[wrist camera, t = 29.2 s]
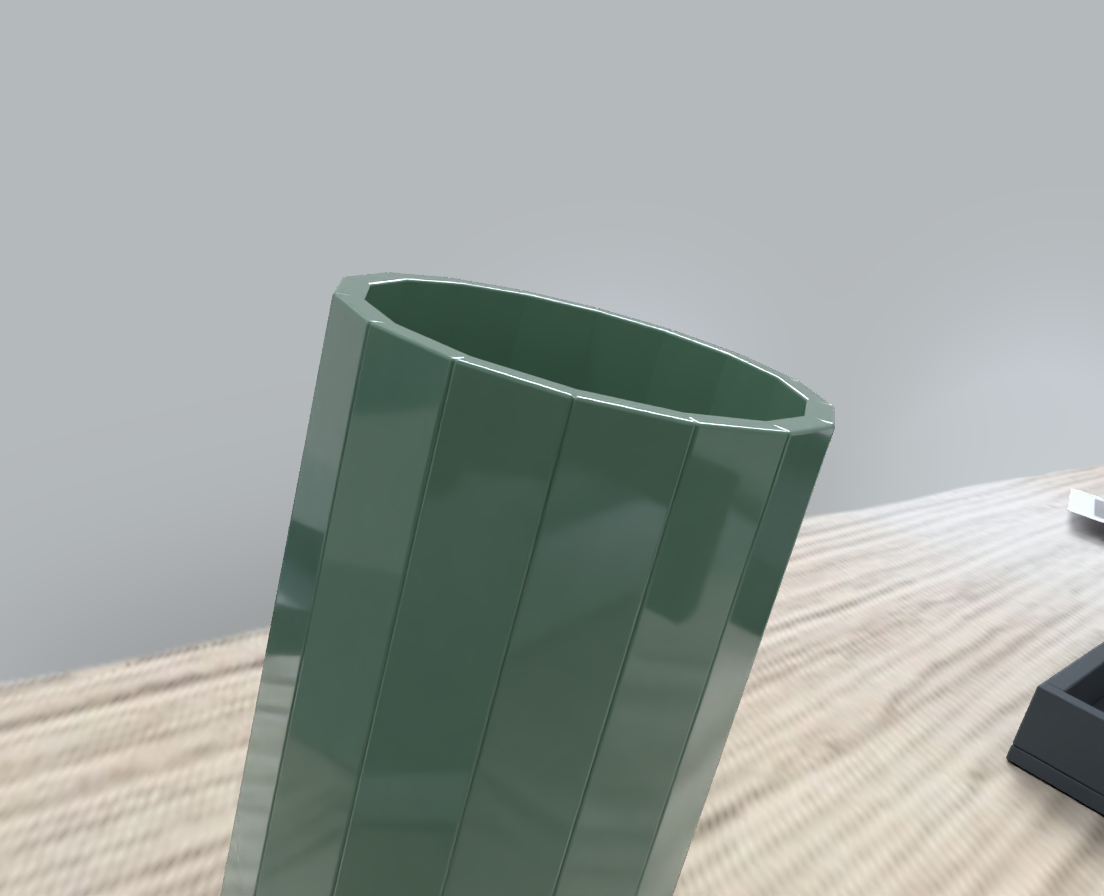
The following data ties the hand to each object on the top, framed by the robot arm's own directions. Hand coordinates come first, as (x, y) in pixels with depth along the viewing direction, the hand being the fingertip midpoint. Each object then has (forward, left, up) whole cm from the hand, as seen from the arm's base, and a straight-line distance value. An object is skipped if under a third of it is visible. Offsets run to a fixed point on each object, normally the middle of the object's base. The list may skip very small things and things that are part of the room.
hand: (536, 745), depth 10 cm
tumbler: (0, +5, -8) cm, 9 cm away
